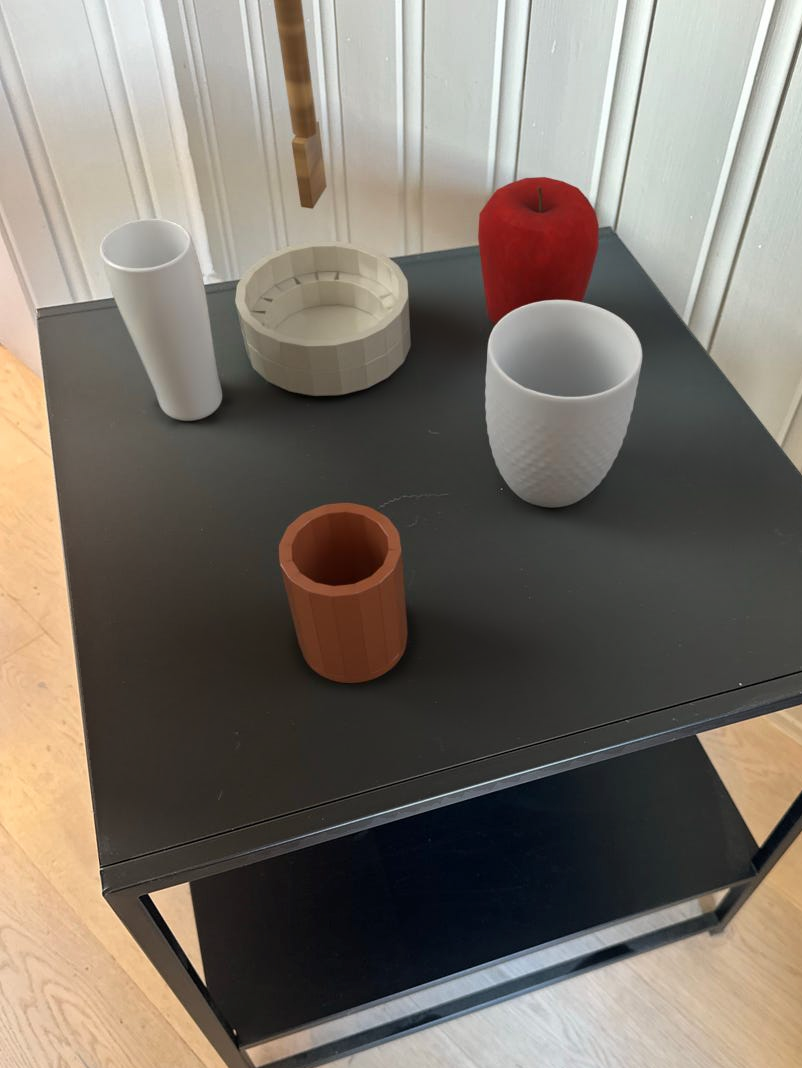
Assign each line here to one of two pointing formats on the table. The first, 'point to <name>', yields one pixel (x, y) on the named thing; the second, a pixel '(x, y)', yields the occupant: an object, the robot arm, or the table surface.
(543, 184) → the apple
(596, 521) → the table surface
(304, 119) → the wooden rod
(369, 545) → the crock
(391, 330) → the bowl
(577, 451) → the mug
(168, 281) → the white cylinder cup
